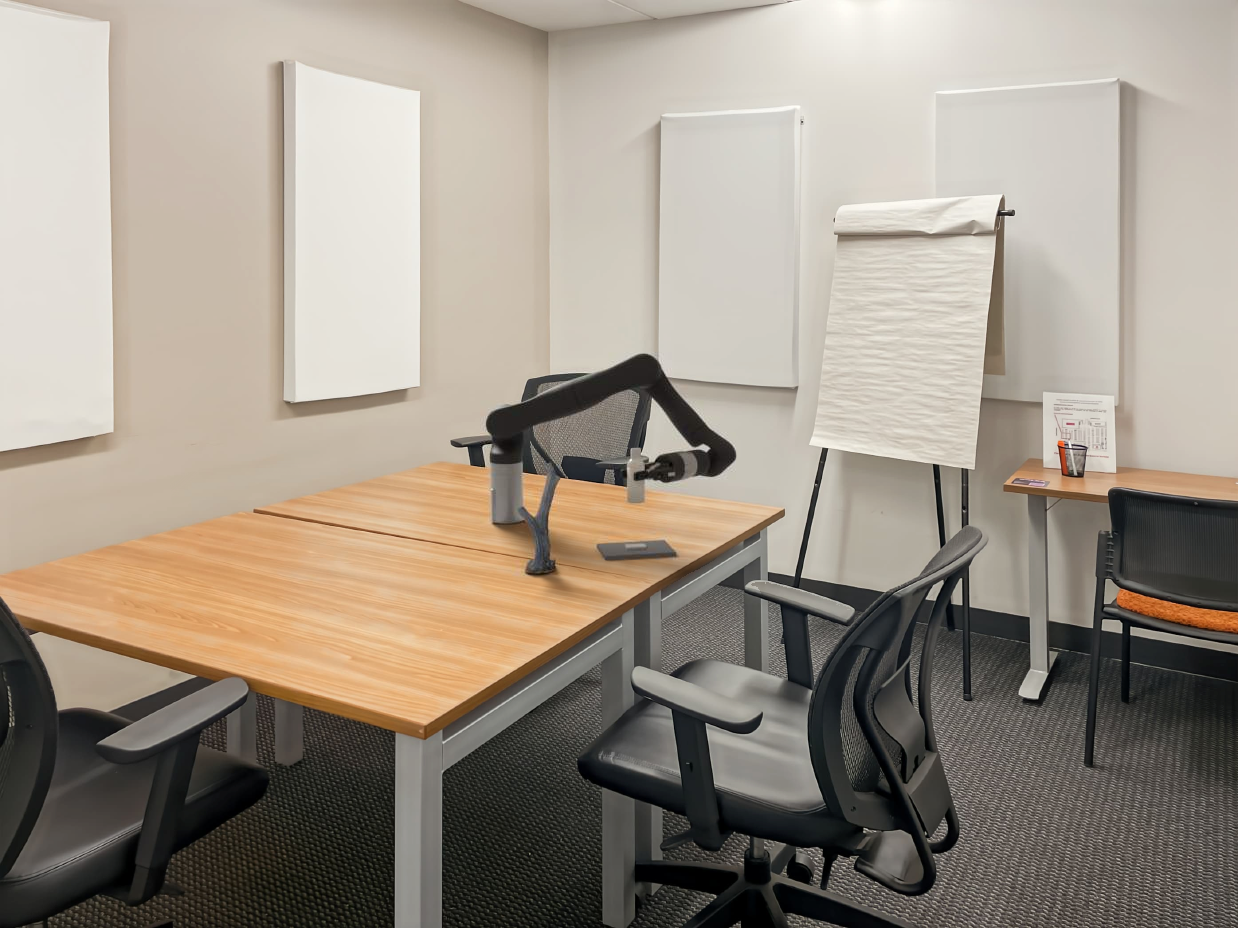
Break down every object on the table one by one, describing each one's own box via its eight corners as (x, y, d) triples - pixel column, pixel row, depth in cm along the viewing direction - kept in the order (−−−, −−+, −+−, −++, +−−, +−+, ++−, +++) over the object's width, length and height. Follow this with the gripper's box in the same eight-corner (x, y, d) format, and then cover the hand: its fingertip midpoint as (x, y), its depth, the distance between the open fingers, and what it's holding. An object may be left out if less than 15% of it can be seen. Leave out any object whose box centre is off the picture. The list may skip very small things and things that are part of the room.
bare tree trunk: (544, 577, 224) (542, 471, 220) (515, 572, 228) (513, 468, 223) (568, 564, 234) (567, 463, 230) (540, 560, 238) (539, 460, 233)
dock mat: (605, 560, 238) (605, 553, 238) (596, 547, 250) (596, 541, 249) (676, 555, 242) (676, 549, 241) (664, 543, 253) (664, 537, 253)
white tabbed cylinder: (629, 503, 241) (629, 450, 238) (625, 499, 245) (625, 447, 242) (646, 502, 242) (646, 449, 239) (642, 498, 246) (642, 446, 243)
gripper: (656, 448, 256) (608, 456, 245) (696, 455, 246) (647, 464, 234) (656, 476, 257) (608, 485, 246) (695, 484, 247) (647, 494, 236)
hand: (628, 475), depth 240 cm, fingers closed on white tabbed cylinder, 4 cm apart
